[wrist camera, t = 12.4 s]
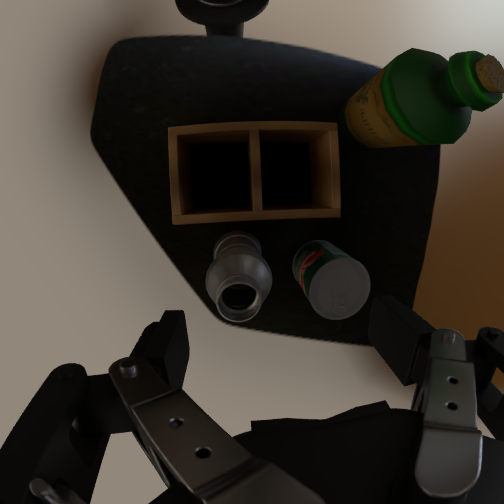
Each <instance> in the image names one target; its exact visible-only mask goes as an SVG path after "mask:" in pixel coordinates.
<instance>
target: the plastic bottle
mask: <svg viewBox="0 0 504 504" xmlns="http://www.w3.org/2000/svg"><path fill="white" fill-rule="evenodd" d="M261 254H262V251H261V246H260V243H259V241H258V240H257V239H256V238H255V236H253V235H252V234H250V233H248V232H246V231H241V230H235V231H230V232H228V233H226V234H224V235H223V236H222V237H221V238H219V240H218V241H217V242H216V245H215V247H214V251H213V257H214V261H213V262H212V264H211V265H210V267H209V269H208V271H207V275H206V288H207V291H208V294H209V296H210V297H211V298H212V300H213V301H214V303H216V305H217V309H218V311H219V313H220V314H221V315H222V316H223V317H224V318H225V319H227V320H229V321H232V322H244V321H247V320H249V319H251V318H253V317H254V316H255V315H256V314H257V313H258V311H259V309H260V307H261V303H262V302H263V301H264V300H265V299H266V297H267V295H268V293H269V292H270V289H271V286H272V272H271V270H270V267H269V265H268V264H267V262H266V261H265V260H264V258H263V257H262V256H261Z"/></svg>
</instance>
